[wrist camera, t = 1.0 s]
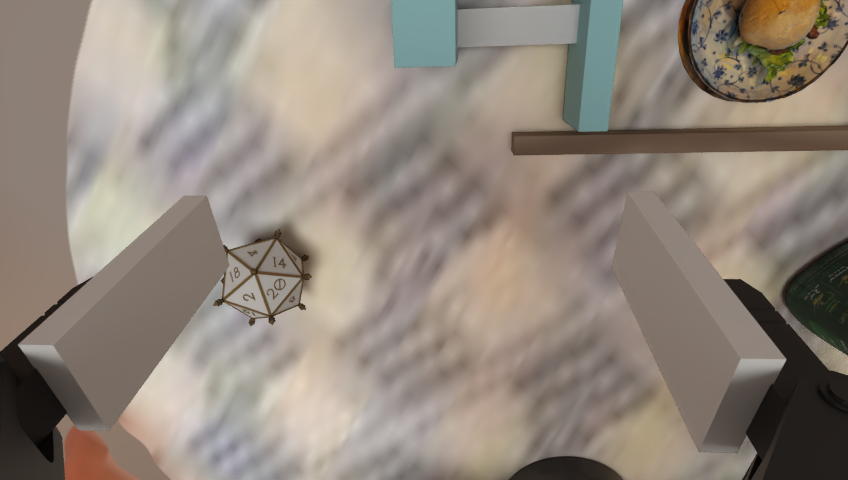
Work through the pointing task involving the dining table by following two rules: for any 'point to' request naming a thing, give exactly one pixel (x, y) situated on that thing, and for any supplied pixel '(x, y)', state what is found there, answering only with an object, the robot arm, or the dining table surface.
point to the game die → (263, 279)
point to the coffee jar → (823, 298)
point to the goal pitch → (681, 140)
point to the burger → (760, 45)
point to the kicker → (520, 43)
